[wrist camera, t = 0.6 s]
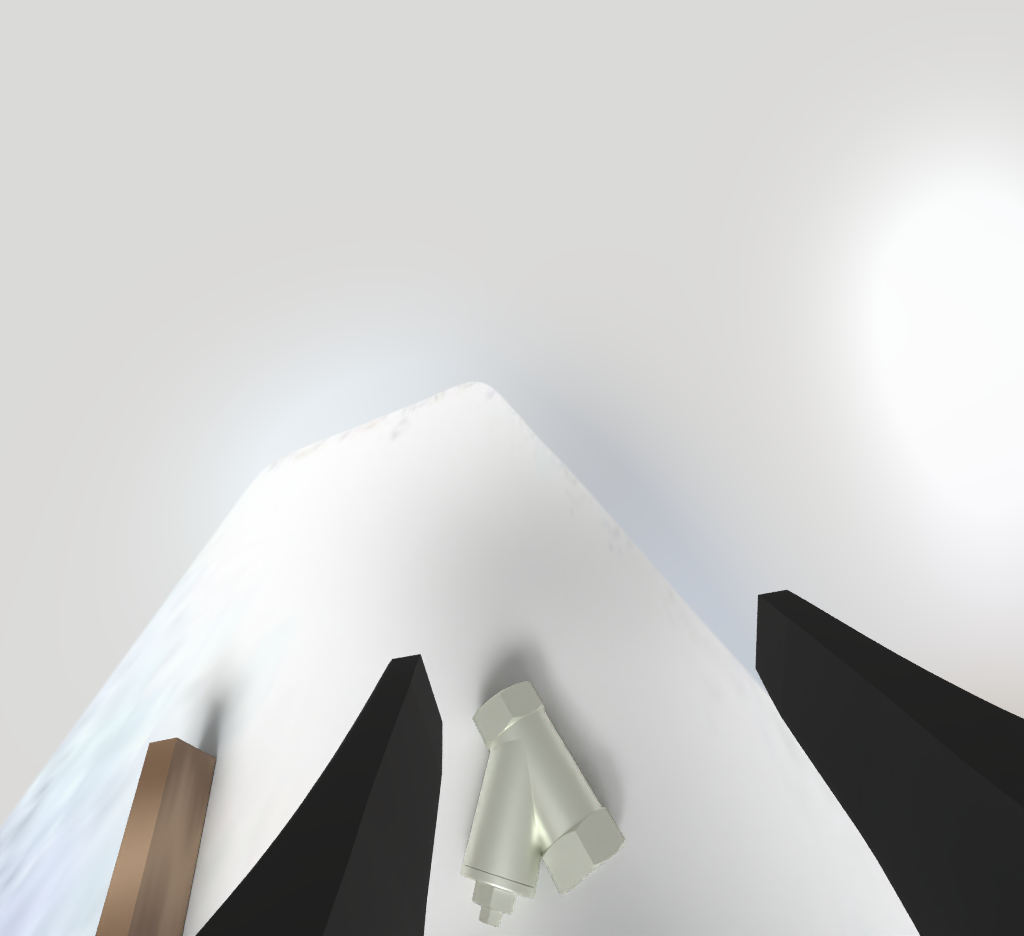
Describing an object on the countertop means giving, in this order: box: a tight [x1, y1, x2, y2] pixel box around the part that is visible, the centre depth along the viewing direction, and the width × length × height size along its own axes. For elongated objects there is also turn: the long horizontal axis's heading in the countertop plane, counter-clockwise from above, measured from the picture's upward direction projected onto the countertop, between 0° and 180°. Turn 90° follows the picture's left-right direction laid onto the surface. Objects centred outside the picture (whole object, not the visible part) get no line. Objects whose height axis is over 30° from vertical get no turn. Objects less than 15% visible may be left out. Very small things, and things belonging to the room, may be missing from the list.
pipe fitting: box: [461, 681, 626, 927], centre depth 23 cm, size 8×4×7 cm
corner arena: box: [95, 738, 216, 936], centre depth 20 cm, size 16×13×4 cm
